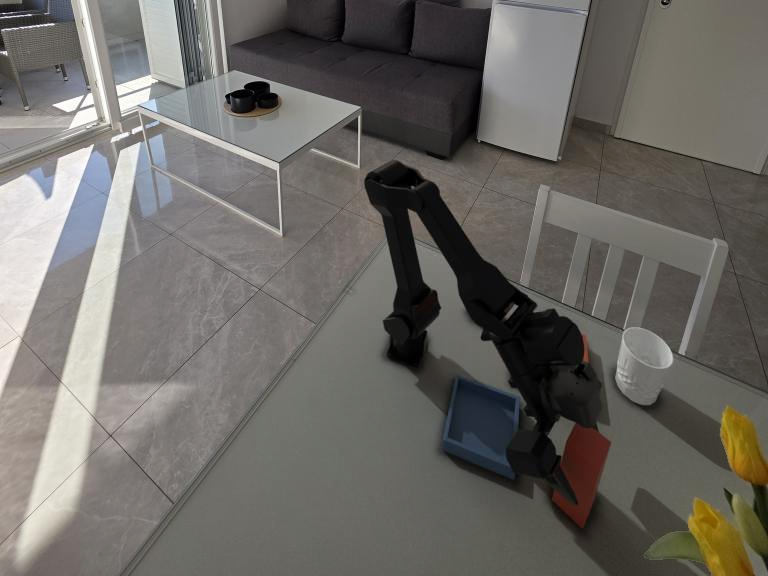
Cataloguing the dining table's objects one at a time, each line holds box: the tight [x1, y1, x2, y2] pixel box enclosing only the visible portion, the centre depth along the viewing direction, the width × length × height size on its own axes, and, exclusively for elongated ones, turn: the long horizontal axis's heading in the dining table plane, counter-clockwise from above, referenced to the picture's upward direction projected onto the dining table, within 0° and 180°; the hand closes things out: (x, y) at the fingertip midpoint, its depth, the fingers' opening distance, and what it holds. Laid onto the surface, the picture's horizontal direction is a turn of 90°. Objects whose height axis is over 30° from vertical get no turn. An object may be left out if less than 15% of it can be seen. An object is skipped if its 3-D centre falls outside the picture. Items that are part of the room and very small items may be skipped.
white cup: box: [614, 326, 674, 406], centre depth 78 cm, size 8×8×10 cm
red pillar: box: [551, 422, 612, 530], centre depth 61 cm, size 4×4×13 cm
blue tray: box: [441, 374, 521, 481], centre depth 72 cm, size 11×11×2 cm
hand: (588, 474), depth 60 cm, fingers open, 9 cm apart
